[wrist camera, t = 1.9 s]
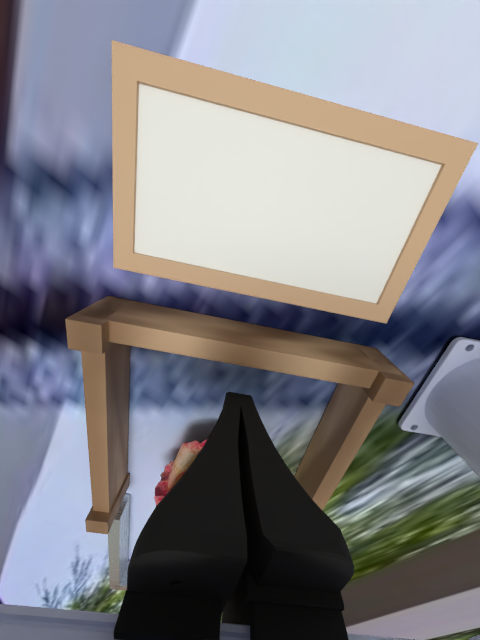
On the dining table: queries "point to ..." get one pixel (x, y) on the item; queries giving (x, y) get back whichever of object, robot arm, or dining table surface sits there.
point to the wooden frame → (229, 347)
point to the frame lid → (270, 187)
